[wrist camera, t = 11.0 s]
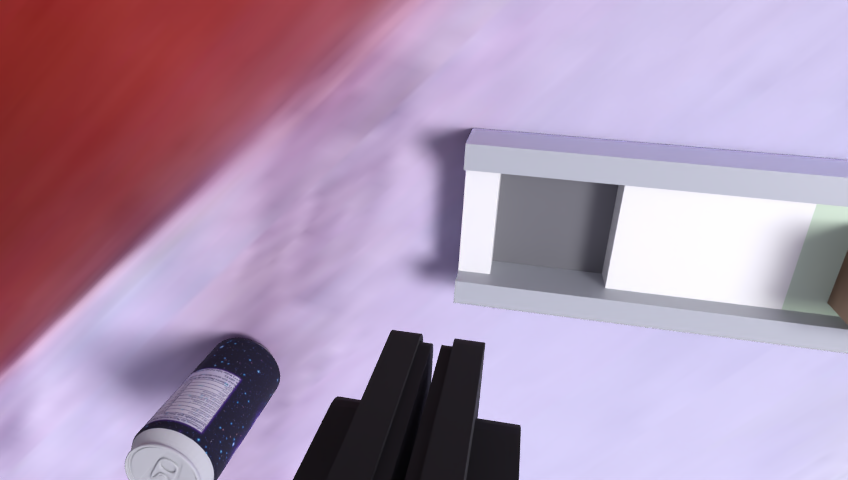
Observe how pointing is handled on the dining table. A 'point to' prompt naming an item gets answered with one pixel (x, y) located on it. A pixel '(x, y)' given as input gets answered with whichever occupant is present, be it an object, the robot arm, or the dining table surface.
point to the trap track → (655, 236)
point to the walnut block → (841, 292)
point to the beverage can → (206, 415)
